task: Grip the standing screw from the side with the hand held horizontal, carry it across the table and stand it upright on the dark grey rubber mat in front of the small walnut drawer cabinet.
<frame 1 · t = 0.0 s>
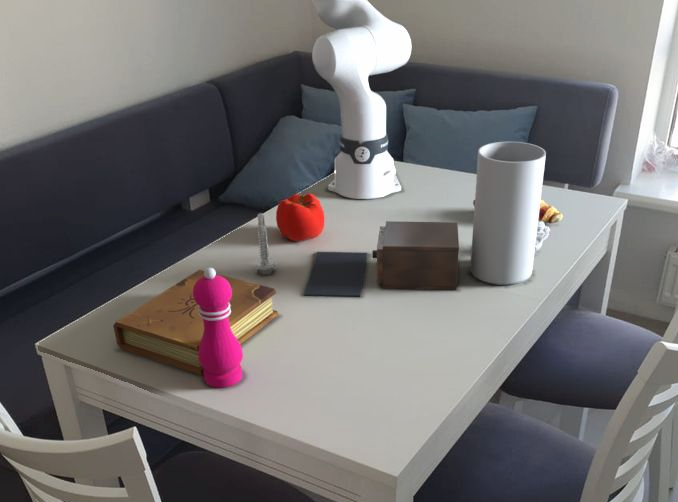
cabinet: (419, 275, 163), on the table
cylinder vase: (500, 273, 164), on the table
diary: (200, 332, 146), on the table
screw: (265, 273, 166), on the table
tomato: (302, 236, 181), on the table
croissant: (515, 219, 187), on the table
drawer: (408, 254, 161), point 5 cm above the table, slide at 0.0 cm, touching cabinet
pepper mill: (223, 378, 133), on the table
mat: (337, 273, 165), on the table
frog figurine: (530, 253, 172), on the table
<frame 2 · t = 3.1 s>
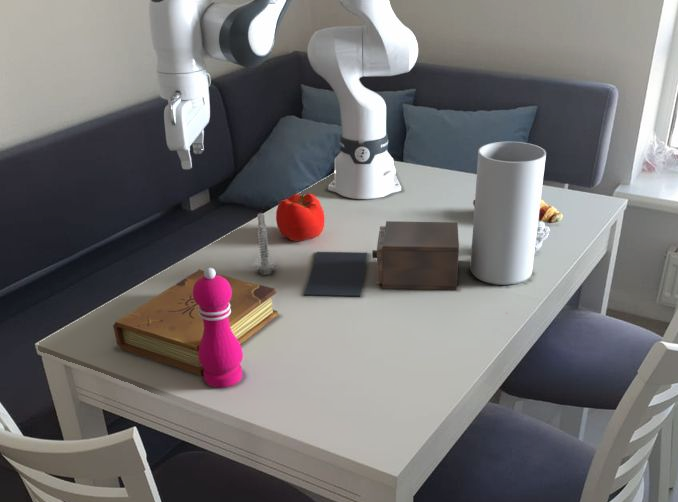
hand: (193, 160, 153), 24 cm above the table, tool pointing down, fingers open, 8 cm apart
nothing on the table moved.
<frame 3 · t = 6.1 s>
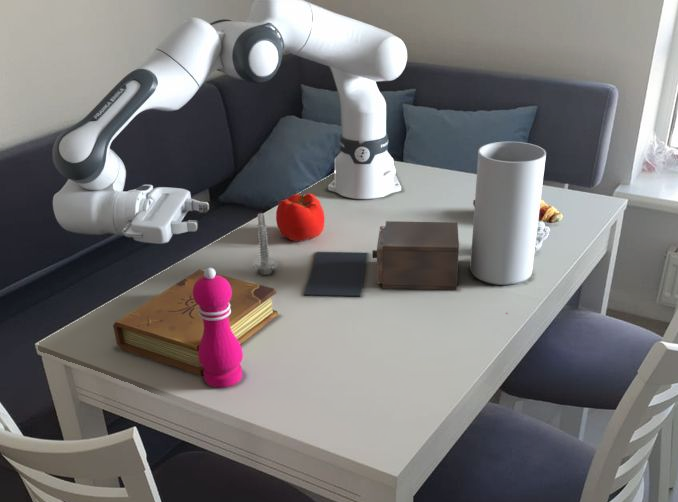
hand: (202, 216, 160), 12 cm above the table, tool horizontal, fingers open, 8 cm apart
nothing on the table moved.
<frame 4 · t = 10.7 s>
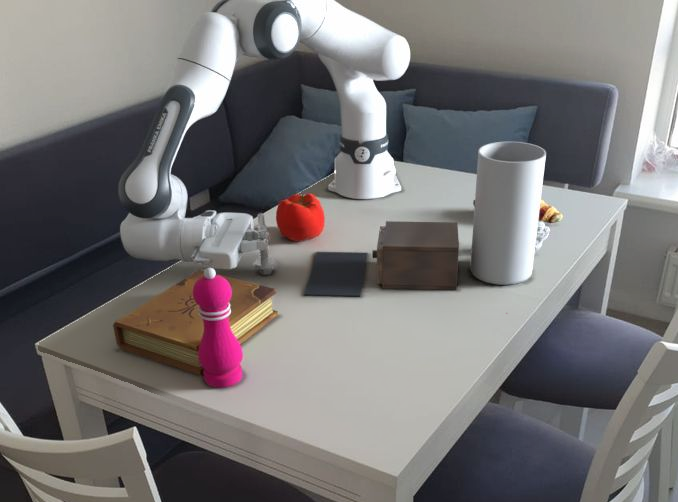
hand: (267, 241, 162), 7 cm above the table, tool horizontal, fingers closed on screw, 2 cm apart
screw: (265, 273, 166), on the table, touching gripper
everything else where it was.
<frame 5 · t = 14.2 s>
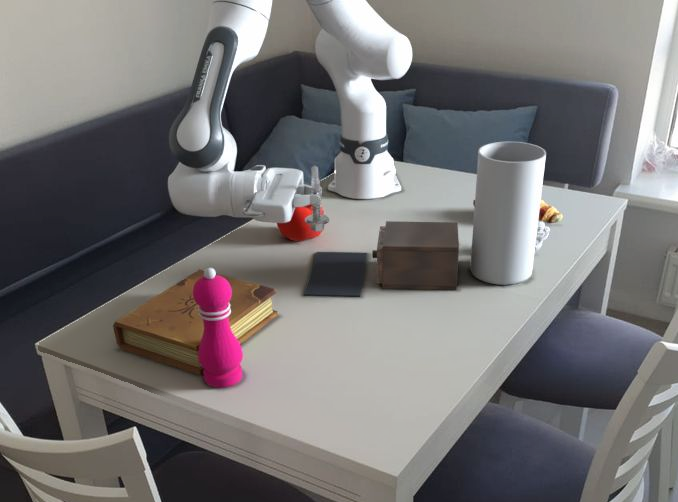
hand: (320, 195, 156), 17 cm above the table, tool horizontal, fingers closed on screw
screw: (317, 230, 160), point 10 cm above the table, touching gripper
everything else where it was.
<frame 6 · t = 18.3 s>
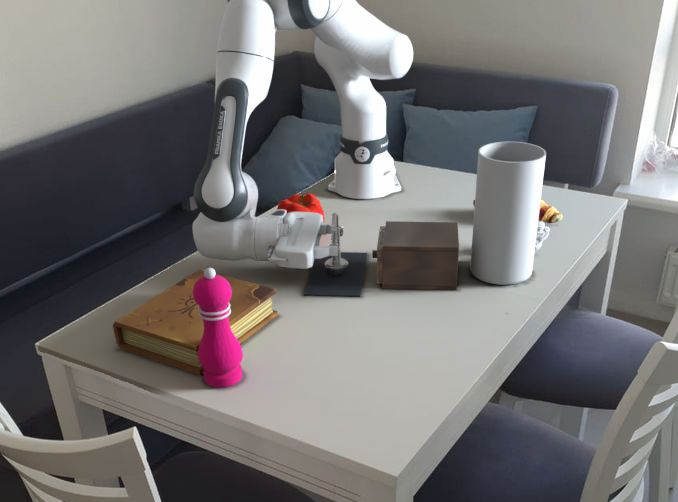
hand: (340, 240, 161), 7 cm above the table, tool horizontal, fingers open, 8 cm apart
screw: (336, 273, 165), resting on mat
everything else where it was.
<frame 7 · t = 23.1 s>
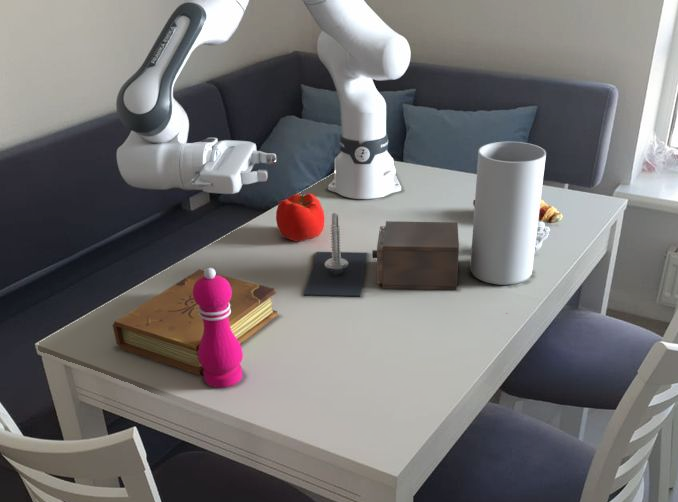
hand: (271, 167, 153), 22 cm above the table, tool horizontal, fingers open, 8 cm apart
nothing on the table moved.
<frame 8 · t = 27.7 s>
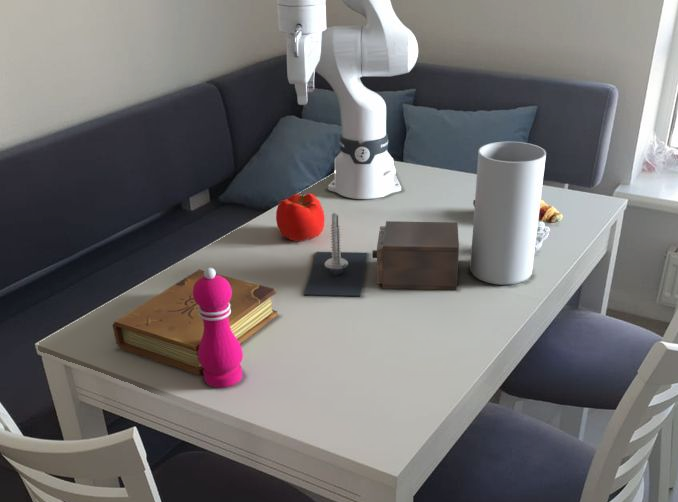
hand: (306, 97, 154), 33 cm above the table, tool pointing down, fingers open, 8 cm apart
nothing on the table moved.
at the end: screw inside the target area (0.1 cm from its centre), resting on mat; screw tilted 0°; the gripper is holding nothing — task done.
